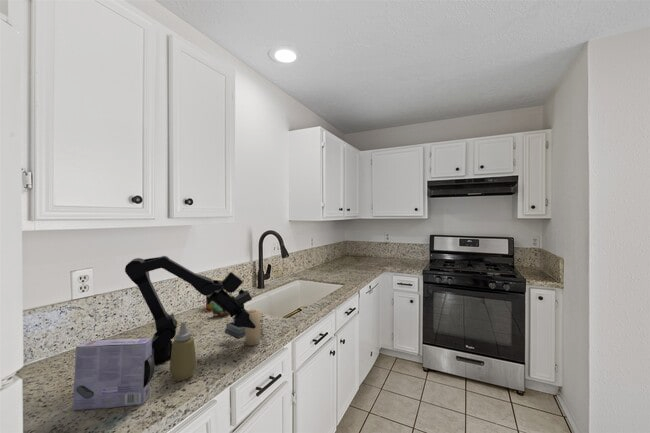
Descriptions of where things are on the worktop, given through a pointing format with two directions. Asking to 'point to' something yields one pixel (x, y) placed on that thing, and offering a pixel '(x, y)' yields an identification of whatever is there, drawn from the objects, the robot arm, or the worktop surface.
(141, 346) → the cake pan box
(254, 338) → the beige tapered cylinder
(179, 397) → the worktop surface
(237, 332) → the dock
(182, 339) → the squeeze bottle
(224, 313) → the food container
